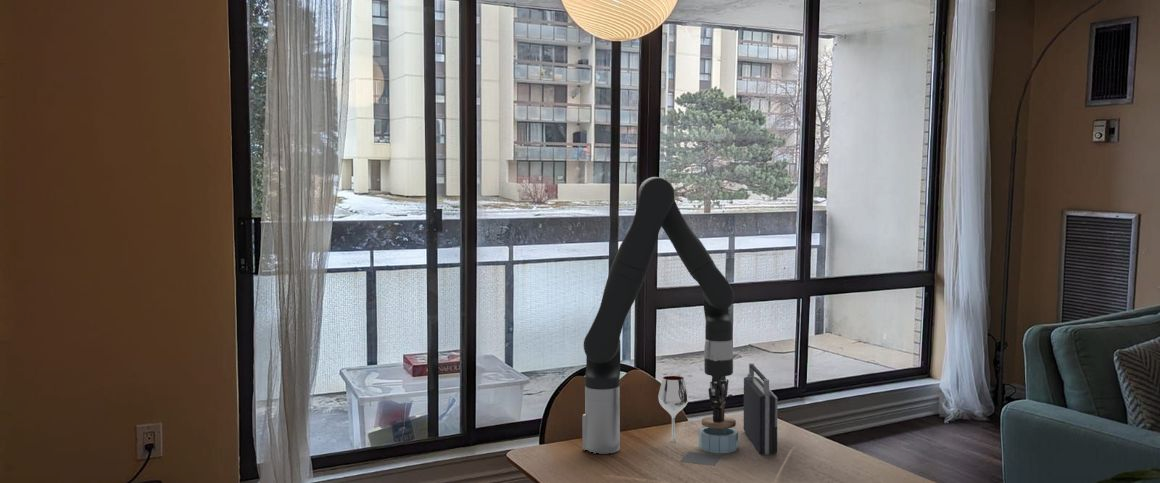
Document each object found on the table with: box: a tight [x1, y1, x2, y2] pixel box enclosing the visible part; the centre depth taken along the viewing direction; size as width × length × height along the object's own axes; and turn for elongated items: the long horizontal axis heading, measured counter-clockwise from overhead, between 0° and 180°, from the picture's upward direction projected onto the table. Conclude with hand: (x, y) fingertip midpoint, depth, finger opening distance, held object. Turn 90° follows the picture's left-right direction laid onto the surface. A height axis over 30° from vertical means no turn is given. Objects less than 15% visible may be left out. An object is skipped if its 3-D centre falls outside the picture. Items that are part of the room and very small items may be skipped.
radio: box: [743, 362, 778, 455], centre depth 233 cm, size 24×5×20 cm, turn 179°
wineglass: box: [657, 375, 689, 443], centre depth 233 cm, size 8×8×18 cm
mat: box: [679, 451, 723, 467], centre depth 218 cm, size 9×9×1 cm
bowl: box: [698, 426, 739, 454], centre depth 227 cm, size 10×10×5 cm
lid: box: [701, 401, 737, 429], centre depth 227 cm, size 9×9×6 cm
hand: (718, 420), depth 227 cm, fingers closed on lid, 2 cm apart
